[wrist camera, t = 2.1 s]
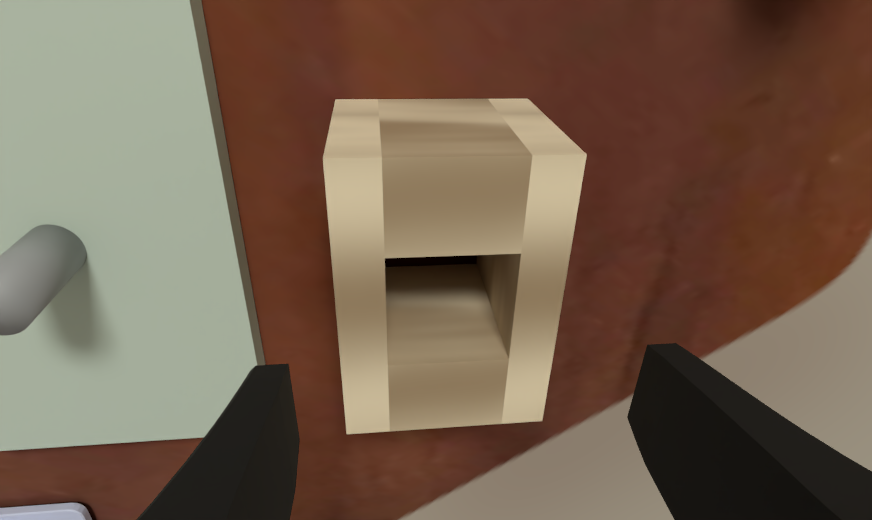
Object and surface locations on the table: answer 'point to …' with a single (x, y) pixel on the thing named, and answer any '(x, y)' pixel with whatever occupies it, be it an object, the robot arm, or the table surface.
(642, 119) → the table surface
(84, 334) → the pin base
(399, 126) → the collar block
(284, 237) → the table surface
